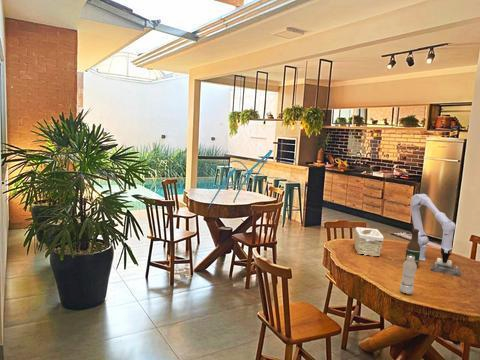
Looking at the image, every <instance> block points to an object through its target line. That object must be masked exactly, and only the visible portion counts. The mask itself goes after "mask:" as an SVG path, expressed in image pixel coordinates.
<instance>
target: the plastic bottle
mask: <svg viewBox="0 0 480 360" xmlns="http://www.w3.org/2000/svg"><path fill="white" fill-rule="evenodd" d="M414 260H415V256H414V255H407V260H406V261H405V260H404V262H403V263H402V278H401V280H400V281H401V282H400V284H399V291H400V292H401V293H402V292H403V293H402V294H404V293H406V294H405V295H412V294H413V293H414V291H415V287H414V285H415V284H414V281H415V280H414V279H415V276H416V272H417V265H416V263H415V261H414Z"/></svg>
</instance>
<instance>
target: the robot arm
mask: <svg viewBox="0 0 480 360" xmlns="http://www.w3.org/2000/svg"><path fill="white" fill-rule="evenodd" d="M410 199H411V201H410V206H409V209H410V214H411V217H412V218H411V219H412V224H413V229H418V230H419V232H418V243H419V245H420V257H419V261H424V262H425V261H426V250H427V244H428V243H430V242H429V237H428V236H427V233H426V232H425V231H424V226H423V221H422V216H421V211H420V208H421V206H425V207H427V208H428V209H429V210H430V212H432V213H433V215H434V218H435V220H436V221H437V222H438V223H439V224H440V225H441V228H442V238H441V245H440V254H441V259H442V262H443V263H447V260H449V257H450V256H451V255H452V253H451V251H453V250H454V247H452V246H453V239H454V231H455V230H456V229H457V225H456V223H455V222H454V221H452V219H449V218H448V216H447V215H446V213H445V212H441V211H440V210H439V209H438V208H437V206H436V205H435V203H434V202H433V201H432V200H431V198H430V197H429V196H428V195H427V194H425V193H415V194H414V195H412V197H411V198H410Z"/></svg>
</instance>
